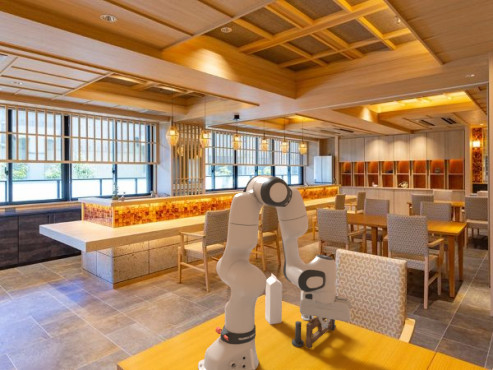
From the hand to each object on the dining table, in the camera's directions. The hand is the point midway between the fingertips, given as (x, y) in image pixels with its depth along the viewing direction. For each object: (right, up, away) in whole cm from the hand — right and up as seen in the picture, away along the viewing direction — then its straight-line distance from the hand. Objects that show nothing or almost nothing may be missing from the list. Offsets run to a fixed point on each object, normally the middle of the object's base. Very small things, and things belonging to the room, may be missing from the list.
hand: (324, 327), depth 135 cm
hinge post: (+5, -6, +15) cm, 17 cm away
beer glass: (-3, -6, +24) cm, 25 cm away
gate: (-1, -6, +4) cm, 7 cm away
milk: (-19, -6, +21) cm, 29 cm away
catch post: (-11, -7, +1) cm, 13 cm away
